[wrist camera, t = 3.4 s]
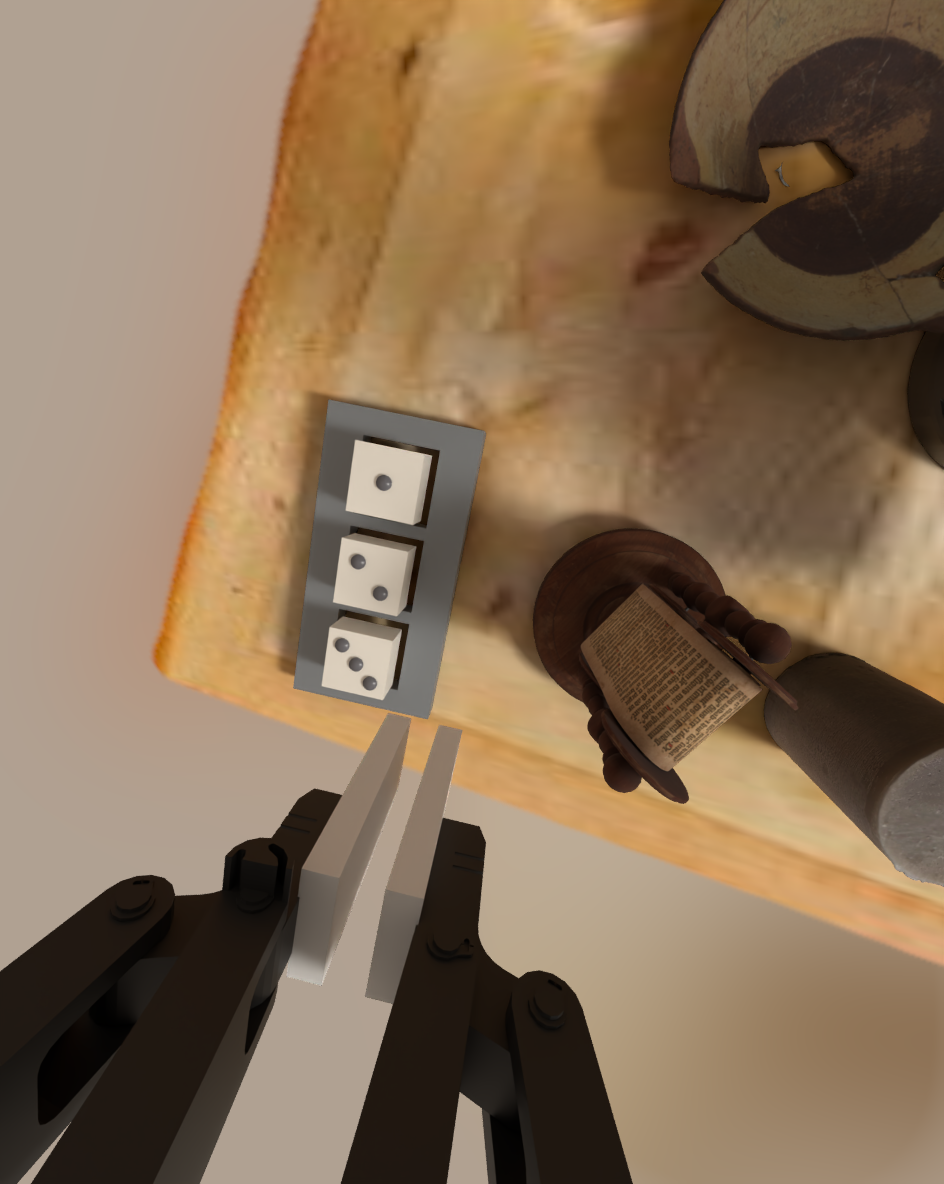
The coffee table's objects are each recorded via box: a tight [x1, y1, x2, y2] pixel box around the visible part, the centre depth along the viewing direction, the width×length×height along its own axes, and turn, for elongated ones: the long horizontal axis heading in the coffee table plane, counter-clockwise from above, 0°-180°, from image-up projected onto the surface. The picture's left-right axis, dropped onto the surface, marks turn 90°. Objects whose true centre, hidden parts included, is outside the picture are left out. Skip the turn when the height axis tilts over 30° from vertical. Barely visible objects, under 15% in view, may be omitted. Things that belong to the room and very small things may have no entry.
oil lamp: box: [669, 0, 944, 341], centre depth 29 cm, size 22×30×8 cm
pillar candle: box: [764, 653, 944, 887], centre depth 34 cm, size 10×10×15 cm
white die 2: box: [333, 533, 416, 616], centre depth 38 cm, size 5×5×3 cm
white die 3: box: [322, 616, 402, 700], centre depth 40 cm, size 5×5×3 cm
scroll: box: [533, 529, 798, 804], centre depth 32 cm, size 15×15×20 cm
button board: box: [293, 400, 486, 719], centre depth 41 cm, size 24×12×2 cm, turn 169°
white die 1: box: [346, 440, 432, 525], centre depth 37 cm, size 5×5×3 cm
